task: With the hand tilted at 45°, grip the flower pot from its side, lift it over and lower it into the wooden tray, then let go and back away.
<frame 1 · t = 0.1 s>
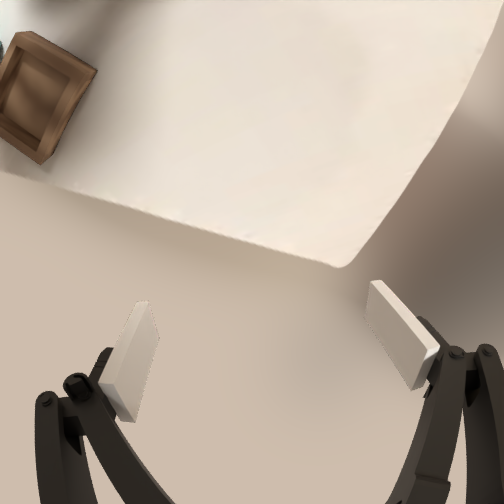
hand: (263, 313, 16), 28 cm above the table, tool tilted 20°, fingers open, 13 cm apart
wooden tray: (38, 92, 27), on the table
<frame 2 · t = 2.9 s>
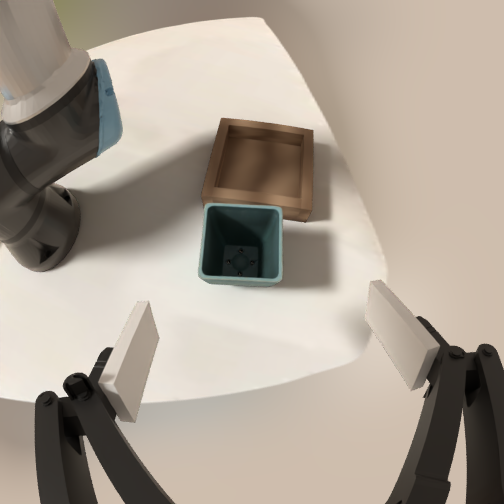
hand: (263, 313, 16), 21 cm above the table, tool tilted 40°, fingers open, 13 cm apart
flower pot: (240, 264, 39), on the table
wooden tray: (260, 173, 44), on the table
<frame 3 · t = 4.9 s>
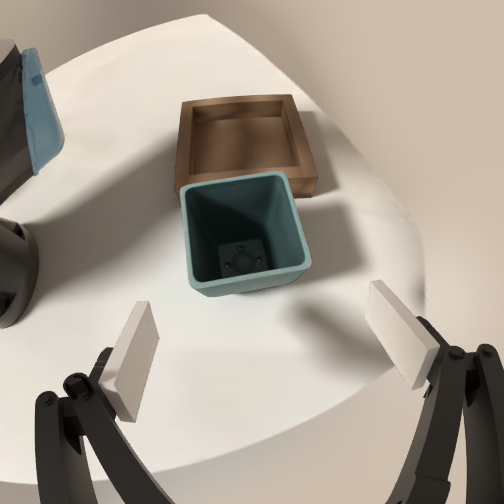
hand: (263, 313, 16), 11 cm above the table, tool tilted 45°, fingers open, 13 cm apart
flower pot: (244, 265, 29), on the table
wooden tray: (241, 153, 35), on the table
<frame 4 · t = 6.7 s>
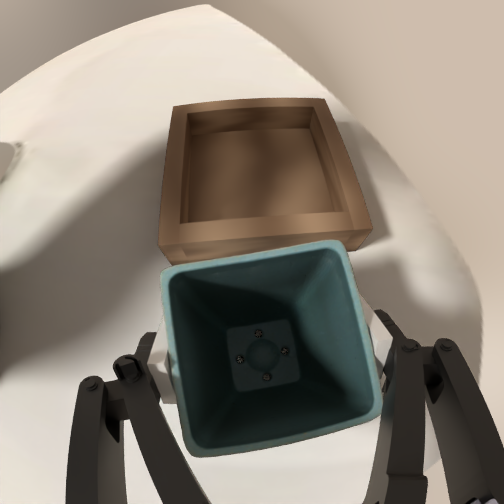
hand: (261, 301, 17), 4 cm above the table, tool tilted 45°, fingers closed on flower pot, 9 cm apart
flower pot: (263, 356, 20), on the table, touching gripper
wooden tray: (257, 181, 25), on the table
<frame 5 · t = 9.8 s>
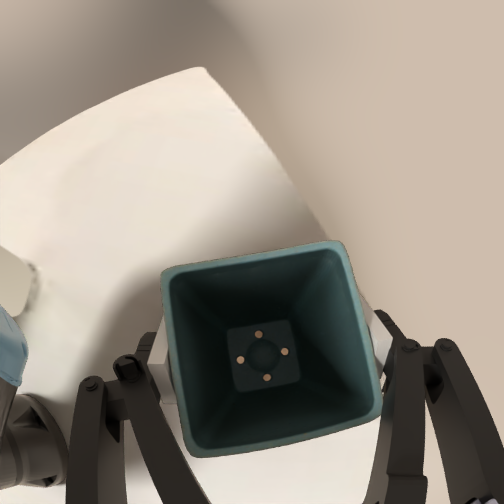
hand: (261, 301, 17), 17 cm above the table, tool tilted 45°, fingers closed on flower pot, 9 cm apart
flower pot: (263, 357, 20), point 13 cm above the table, touching gripper
when the fingers open (6 cm above the table, at t = 12.8 s): flower pot drops 1 cm, resting on wooden tray.
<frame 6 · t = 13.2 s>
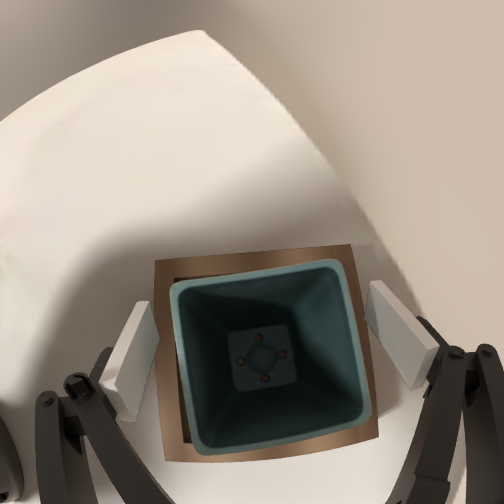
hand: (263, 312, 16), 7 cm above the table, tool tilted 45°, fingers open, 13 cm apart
flower pot: (262, 359, 21), point 1 cm above the table, touching wooden tray
wooden tray: (262, 357, 22), on the table
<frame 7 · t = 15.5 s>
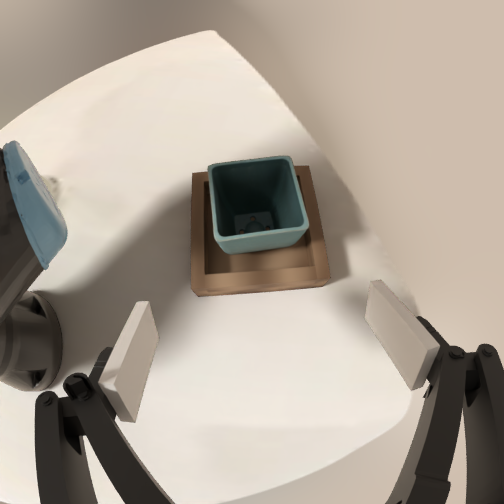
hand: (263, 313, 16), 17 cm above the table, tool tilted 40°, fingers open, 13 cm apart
flower pot: (255, 232, 36), point 1 cm above the table, touching wooden tray
wooden tray: (255, 234, 36), on the table
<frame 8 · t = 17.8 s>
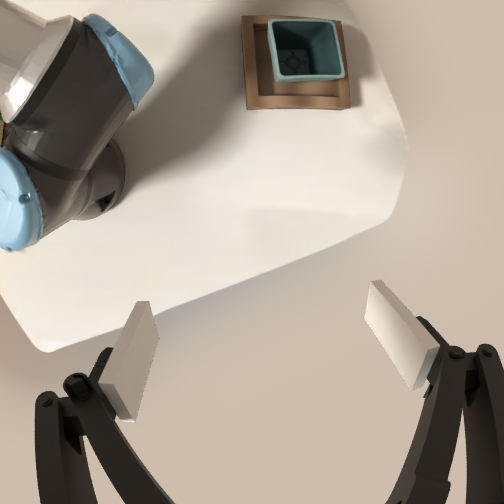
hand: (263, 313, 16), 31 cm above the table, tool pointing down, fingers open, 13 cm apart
flower pot: (293, 64, 36), point 1 cm above the table, touching wooden tray
wooden tray: (292, 64, 37), on the table
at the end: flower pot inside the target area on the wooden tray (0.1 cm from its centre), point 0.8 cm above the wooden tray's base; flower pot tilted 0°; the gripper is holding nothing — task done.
